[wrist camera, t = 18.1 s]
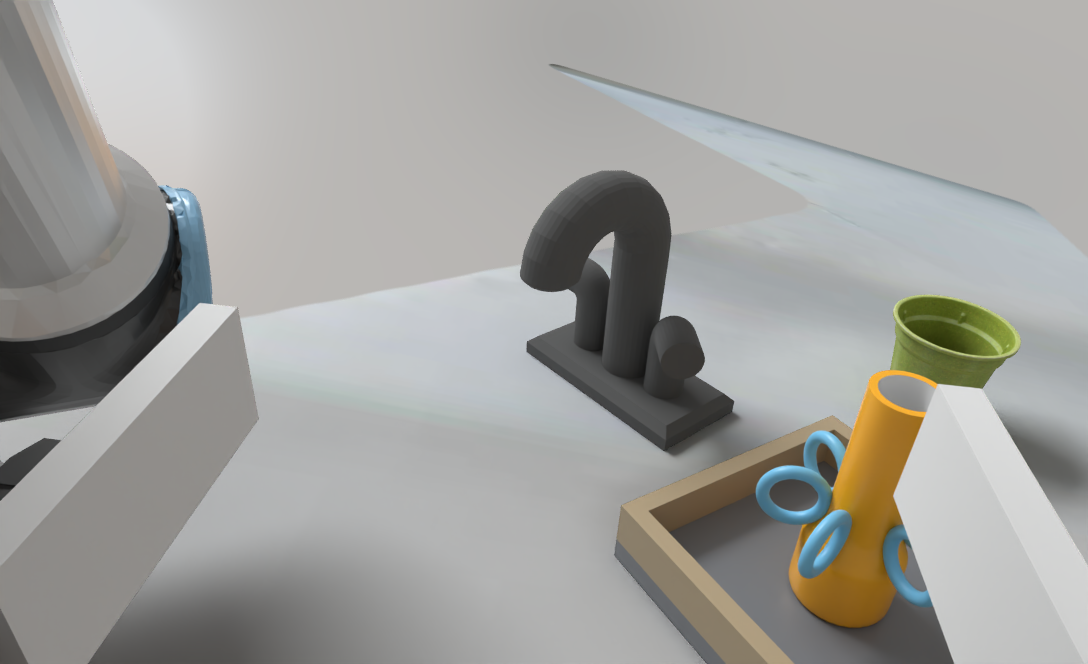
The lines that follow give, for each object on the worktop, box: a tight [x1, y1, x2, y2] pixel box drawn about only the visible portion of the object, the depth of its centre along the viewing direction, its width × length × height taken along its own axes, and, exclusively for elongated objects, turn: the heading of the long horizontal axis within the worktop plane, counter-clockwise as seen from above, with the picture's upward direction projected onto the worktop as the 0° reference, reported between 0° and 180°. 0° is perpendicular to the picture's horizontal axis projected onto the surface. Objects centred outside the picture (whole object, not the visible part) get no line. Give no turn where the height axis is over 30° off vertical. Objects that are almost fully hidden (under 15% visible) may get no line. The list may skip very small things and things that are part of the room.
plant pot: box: [890, 295, 1021, 389], centre depth 64 cm, size 9×9×9 cm
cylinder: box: [756, 370, 938, 628], centre depth 43 cm, size 12×10×15 cm
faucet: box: [520, 171, 734, 451], centre depth 60 cm, size 18×16×20 cm
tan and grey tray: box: [614, 415, 954, 664], centre depth 47 cm, size 19×19×4 cm
